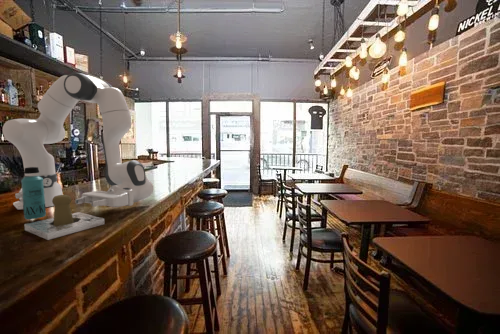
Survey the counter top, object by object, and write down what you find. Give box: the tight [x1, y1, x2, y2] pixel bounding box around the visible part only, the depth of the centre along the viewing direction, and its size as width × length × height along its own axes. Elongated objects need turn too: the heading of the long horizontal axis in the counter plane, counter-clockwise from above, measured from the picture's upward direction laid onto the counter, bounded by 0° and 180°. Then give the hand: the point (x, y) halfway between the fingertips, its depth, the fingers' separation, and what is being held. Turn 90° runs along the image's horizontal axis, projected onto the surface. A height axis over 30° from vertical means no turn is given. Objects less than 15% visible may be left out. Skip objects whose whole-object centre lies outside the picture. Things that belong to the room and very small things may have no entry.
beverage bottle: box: [20, 167, 47, 220], centre depth 96 cm, size 6×7×20 cm
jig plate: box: [24, 211, 105, 241], centre depth 90 cm, size 17×17×2 cm
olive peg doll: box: [52, 194, 74, 226], centre depth 90 cm, size 6×6×11 cm
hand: (84, 202), depth 95 cm, fingers open, 8 cm apart
